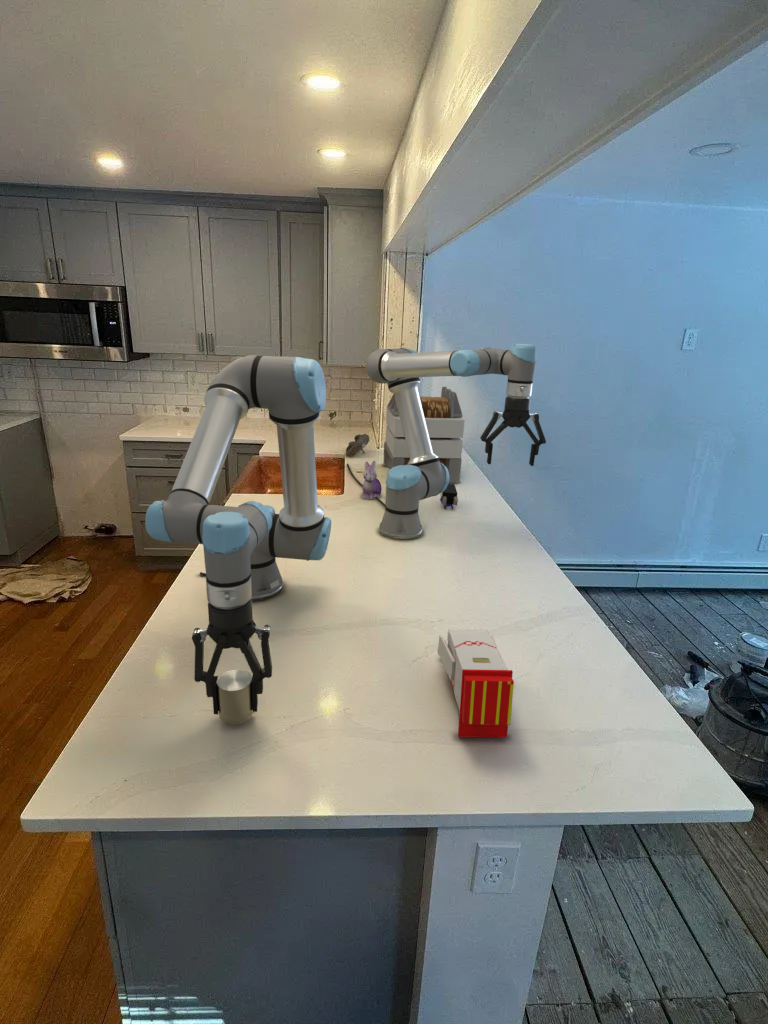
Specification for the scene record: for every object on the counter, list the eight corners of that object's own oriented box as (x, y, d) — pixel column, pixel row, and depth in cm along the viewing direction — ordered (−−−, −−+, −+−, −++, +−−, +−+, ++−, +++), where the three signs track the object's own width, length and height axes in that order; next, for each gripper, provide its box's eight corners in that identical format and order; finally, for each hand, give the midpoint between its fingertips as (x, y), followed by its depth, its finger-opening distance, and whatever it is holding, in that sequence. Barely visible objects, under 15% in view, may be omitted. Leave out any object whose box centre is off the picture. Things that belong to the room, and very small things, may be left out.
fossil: (345, 440, 316) (366, 424, 311) (356, 453, 319) (377, 438, 314) (339, 453, 297) (361, 437, 292) (350, 467, 300) (373, 452, 295)
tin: (211, 715, 106) (209, 682, 104) (236, 697, 111) (234, 665, 109) (236, 729, 103) (234, 695, 101) (260, 709, 108) (259, 677, 106)
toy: (488, 613, 130) (523, 677, 101) (484, 667, 133) (517, 744, 104) (435, 612, 130) (455, 676, 101) (432, 666, 133) (451, 743, 103)
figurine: (366, 501, 232) (367, 465, 227) (356, 493, 240) (357, 459, 235) (386, 498, 236) (388, 463, 231) (375, 491, 244) (377, 457, 239)
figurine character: (457, 514, 225) (453, 498, 239) (459, 497, 222) (455, 481, 236) (441, 513, 225) (437, 497, 239) (442, 496, 222) (439, 481, 235)
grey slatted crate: (382, 463, 289) (386, 382, 275) (445, 464, 293) (451, 384, 279) (390, 482, 257) (394, 392, 243) (460, 483, 261) (468, 394, 247)
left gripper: (167, 613, 94) (179, 725, 102) (285, 608, 97) (287, 718, 105) (176, 591, 101) (186, 698, 109) (286, 588, 104) (288, 692, 112)
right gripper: (479, 396, 169) (472, 465, 177) (562, 400, 170) (552, 468, 177) (475, 393, 176) (469, 459, 184) (555, 396, 177) (545, 462, 184)
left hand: (236, 707), depth 107 cm, fingers closed on tin, 6 cm apart
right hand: (510, 464), depth 180 cm, fingers open, 13 cm apart
